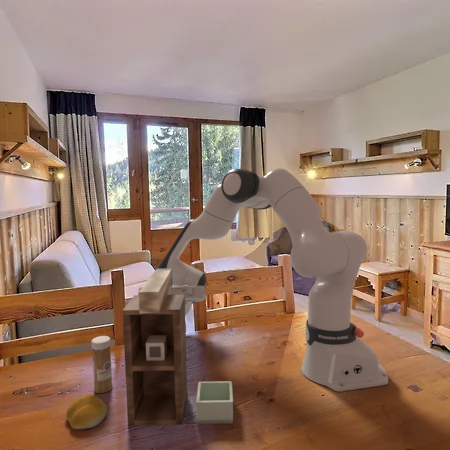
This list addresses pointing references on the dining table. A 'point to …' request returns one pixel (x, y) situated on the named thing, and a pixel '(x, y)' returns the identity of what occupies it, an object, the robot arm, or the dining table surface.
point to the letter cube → (156, 347)
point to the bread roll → (86, 412)
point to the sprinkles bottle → (102, 364)
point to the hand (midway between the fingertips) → (168, 288)
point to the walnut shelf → (155, 364)
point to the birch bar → (155, 291)
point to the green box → (214, 402)
